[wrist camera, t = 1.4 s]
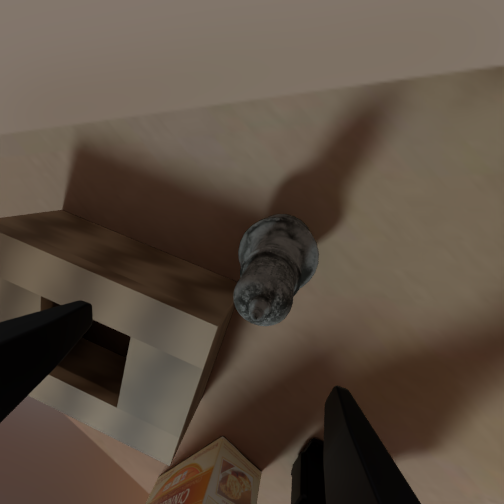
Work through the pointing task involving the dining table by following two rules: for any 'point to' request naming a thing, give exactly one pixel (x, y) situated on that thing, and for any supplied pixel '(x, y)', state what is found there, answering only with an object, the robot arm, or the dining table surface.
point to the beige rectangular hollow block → (119, 325)
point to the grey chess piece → (273, 268)
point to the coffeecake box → (209, 478)
